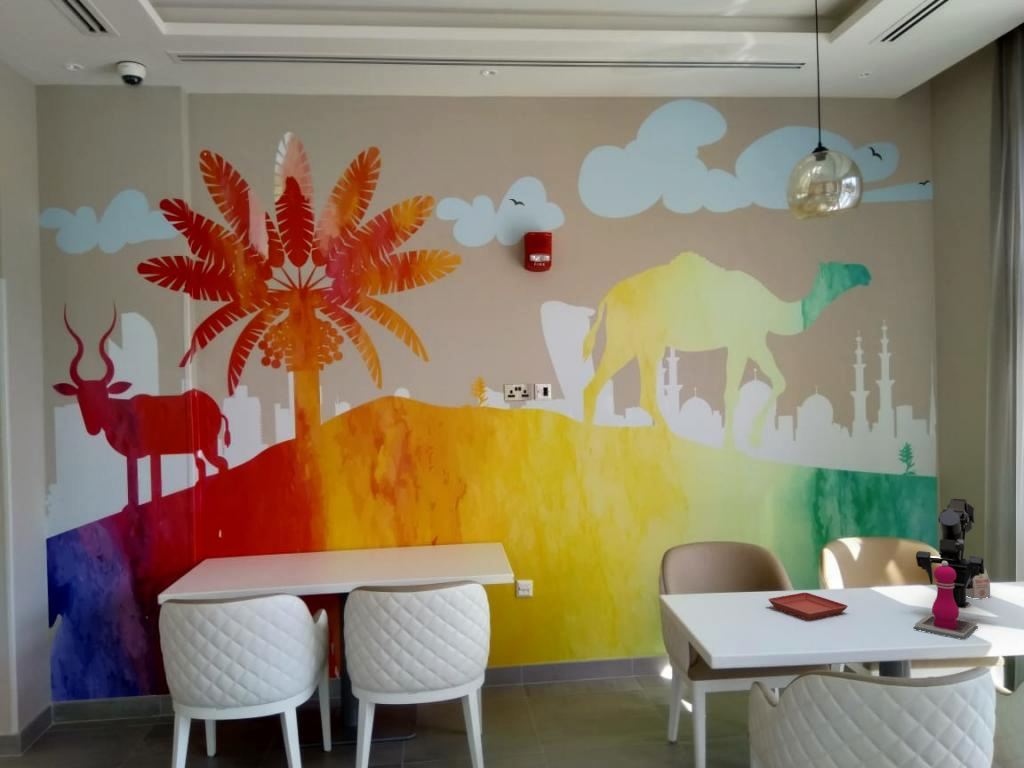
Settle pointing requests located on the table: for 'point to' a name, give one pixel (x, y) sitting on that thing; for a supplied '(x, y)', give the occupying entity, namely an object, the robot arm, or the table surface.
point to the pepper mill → (945, 598)
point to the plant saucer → (807, 605)
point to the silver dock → (960, 632)
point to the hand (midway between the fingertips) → (947, 585)
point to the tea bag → (980, 586)
